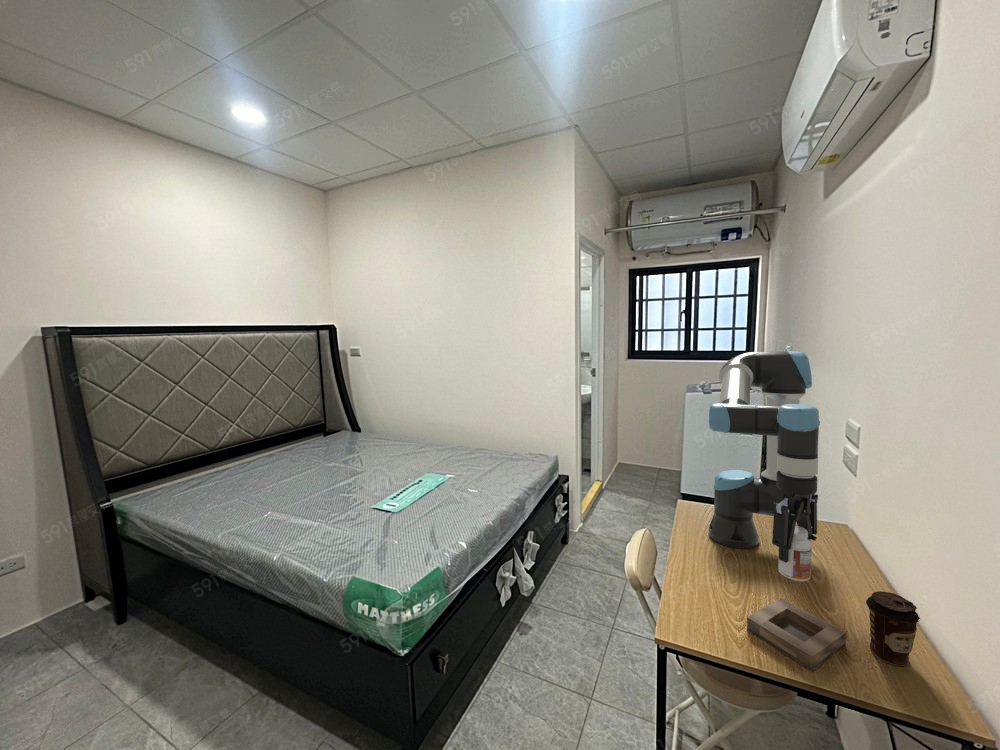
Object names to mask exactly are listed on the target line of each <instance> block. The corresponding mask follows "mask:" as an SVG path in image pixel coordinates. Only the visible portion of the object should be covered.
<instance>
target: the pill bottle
mask: <svg viewBox="0 0 1000 750" xmlns="http://www.w3.org/2000/svg"><path fill="white" fill-rule="evenodd" d="M812 547H813V545H812V541H811V542H810V541H809V540H808V531H807V530H806V529H805V528H803V527H800V526H797V524H796V526H795V530H794V535H793V540H792V545H791V548H793V549H794V556H793V576H792V577H790V576H788V575H786V574H784V573H782V572H780V571H779V557H778V559H777V560H778V561H777V562H778V564H777V570H778V572H779V573H780V575H782V576H783V577H785V578H787V579H789V580H792V581H795V582H796V581H797V582H806V581H807V582H808V581H809V580H810V579H811V576H812V575H811V572H812V553H813V552H812V550H813V548H812Z"/></svg>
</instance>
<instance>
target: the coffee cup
mask: <svg viewBox="0 0 1000 750" xmlns="http://www.w3.org/2000/svg"><path fill="white" fill-rule="evenodd" d="M865 604H866V605H867V607H868V611H869V614H868V615H869V624H870V625H869V626H870V627H869V631H870V632H869V636H870V643H869V648H870V650H871V653H872V654H873V655H874V656H876V657H877V658H878V659H880V660H881V661H883V662H884V663H887V664H891V665H894V666H897V667H899V666H900V667H902V666H903V667H904V666H907V665H909V663H910V658H909V657H910V654H911V653H912V651H913V647H914V643H915V639H916V633H917V623H918V622H919V621H920V620H921V618H920V616H919V614H918V613H917V611H916V610H918V607H917V606H916V605H915V604H914V603H913V602H912V601H910V600H908V599H906V598H905V597H903V596H901V595H899V594H897V593H894V592H893V593H892V592H889V591H874V592H873V593H872V594H871V596H869V597H868V598H866V601H865Z"/></svg>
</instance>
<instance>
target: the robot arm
mask: <svg viewBox="0 0 1000 750" xmlns="http://www.w3.org/2000/svg"><path fill="white" fill-rule="evenodd" d="M811 369H812V368H811V365H810V360H809V357H808V355H807V354H806V353H805V352H804V351H793V350H786V351H784V350H783V351H749V352H745V353H741V354H738V355H736V356H734V357H732V358H731V359H728V361H726V363H724V364H723V366H722V367H721V369H720V371H719V374H718V376H719V377H718V378H719V382H720V383H721V387H720V395H719V403H712V404H710V405H709V411H708V425H709V429H710V431H712V432H716V433H717V432H720V433H724V434H742V435H743V434H744V435H757V436H758V435H759V436H766V468H765V469H764V470H763V471H762V472H761V473H760V478H758V477H754V474H753V473H752V472H751V471H746V470H743V469H742V470H741V469H728V470H723V471H719V473H717V474H715V477H714V483H713V484H714V485H713V489H714V499H713V501H714V503H713V504H714V507H713V508H714V509H713V514H712V515H713V516H712V517H711V520H710V523H709V526H708V535H709V537H710V539H712V540H713V541H714V542H716V543H718V544H720V545H723V546H726V547H730V548H735V549H743V550H744V549H751V548H754V547H757V546H758V544H759V542H760V541H759V538H760V537H759V536H760V535H759V533H758V529H757V528H756V525H755V521H754V516H753V514H757V515H765V516H769V517H771V516H772V517H773V524H772V538H771V540H772V541H771V543H772V545H774V546H776V547H778V558H779V570H778V572H779V571H780V572H782V573H784V574H786V575H788V576H790V577H792V576H793V556H794V549H793V548H791V545H792V540H793V535H794V530H795V526H796V525H797V526H800V527H803V528H805V529H806V530H807V531H808V540H809V541H810V542H811V543H812V541H817V536H816V535H818V501H819V494H818V493H817V492H818V476H817V475H818V473H819V454H818V453H819V430H820V428H819V427H820V425H821V421H820V417H819V416H820V414H819V413H820V412H819V409H818V408H817V407H816V406H813V405H809V404H803V403H801V404H800V401H801V400H800V399H801V398H803V397H804V396H805V395H806V394H807V392H806V390H807V389H810V388H812V386H813V378H812V370H811ZM752 387H753V388H754V387H756V388H761V393H762V394H763V395H764V396H765V397H766V400H767V403H766V404H767V405H758V404H751V388H752ZM780 572H779V573H780Z"/></svg>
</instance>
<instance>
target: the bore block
mask: <svg viewBox="0 0 1000 750" xmlns="http://www.w3.org/2000/svg"><path fill="white" fill-rule="evenodd" d="M746 620H747V621H746V631H747V632H749V633H750V634H751V635H753V636H755V637H756V638H758V639H760V640H762V641H763V642H765V644H768V645H769V646H771V647H772V648H773V649H776V651H778V652H780V653H781V654H783V655H784V656H787V657H788V658H789V659H791V660H792V661H794V662H796V663H797V664H799V665H800V666H802V667H803V666H804V667H803V668H805V669H806V668H807V669H806V670H808V669H809V670H808V671H809V672H811V671H812V672H814V671H815V670H817V669H818V668H819V667H821V665H823V664H824V663H826V662H827V661H828V660H830V659H831V658H833V656H835V655H836V654H838V653H839V652H841V651H842V650H843V649H845V648H846V647H847V631H845V630H842V629H841V628H839V627H837V626H835V625H834V624H831V623H829V622H828V621H825V620H824V619H822V618H820V617H818V616H816V615H814V614H812V613H811V612H809V611H807V610H805V609H803V608H801V607H799V606H797V605H795V604H794V603H791V602H790V601H787V600H786V599H784V598H782V597H780V598H779V599H777V600H775V601H773V602H772V603H770V604H768V605H766V606H764V607H763V608H761V609H759V610H757V611H756V612H753V613H752V614H750V615H749V616H747V617H746ZM813 670H814V671H813Z"/></svg>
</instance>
